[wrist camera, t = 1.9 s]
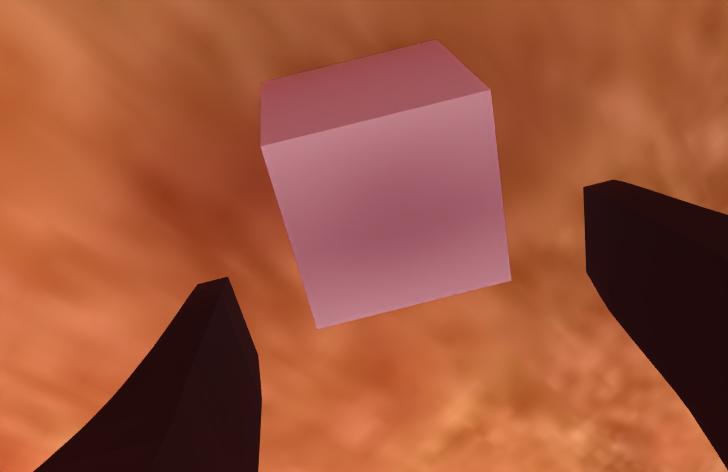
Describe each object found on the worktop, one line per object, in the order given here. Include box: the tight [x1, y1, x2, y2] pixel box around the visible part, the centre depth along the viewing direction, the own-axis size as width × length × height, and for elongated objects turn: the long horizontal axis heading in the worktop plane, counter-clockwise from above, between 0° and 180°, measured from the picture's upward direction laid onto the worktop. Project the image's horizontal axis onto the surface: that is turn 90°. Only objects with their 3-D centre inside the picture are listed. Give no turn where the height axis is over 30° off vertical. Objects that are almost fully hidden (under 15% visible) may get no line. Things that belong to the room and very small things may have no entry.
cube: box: [260, 39, 511, 329], centre depth 17 cm, size 5×5×5 cm
